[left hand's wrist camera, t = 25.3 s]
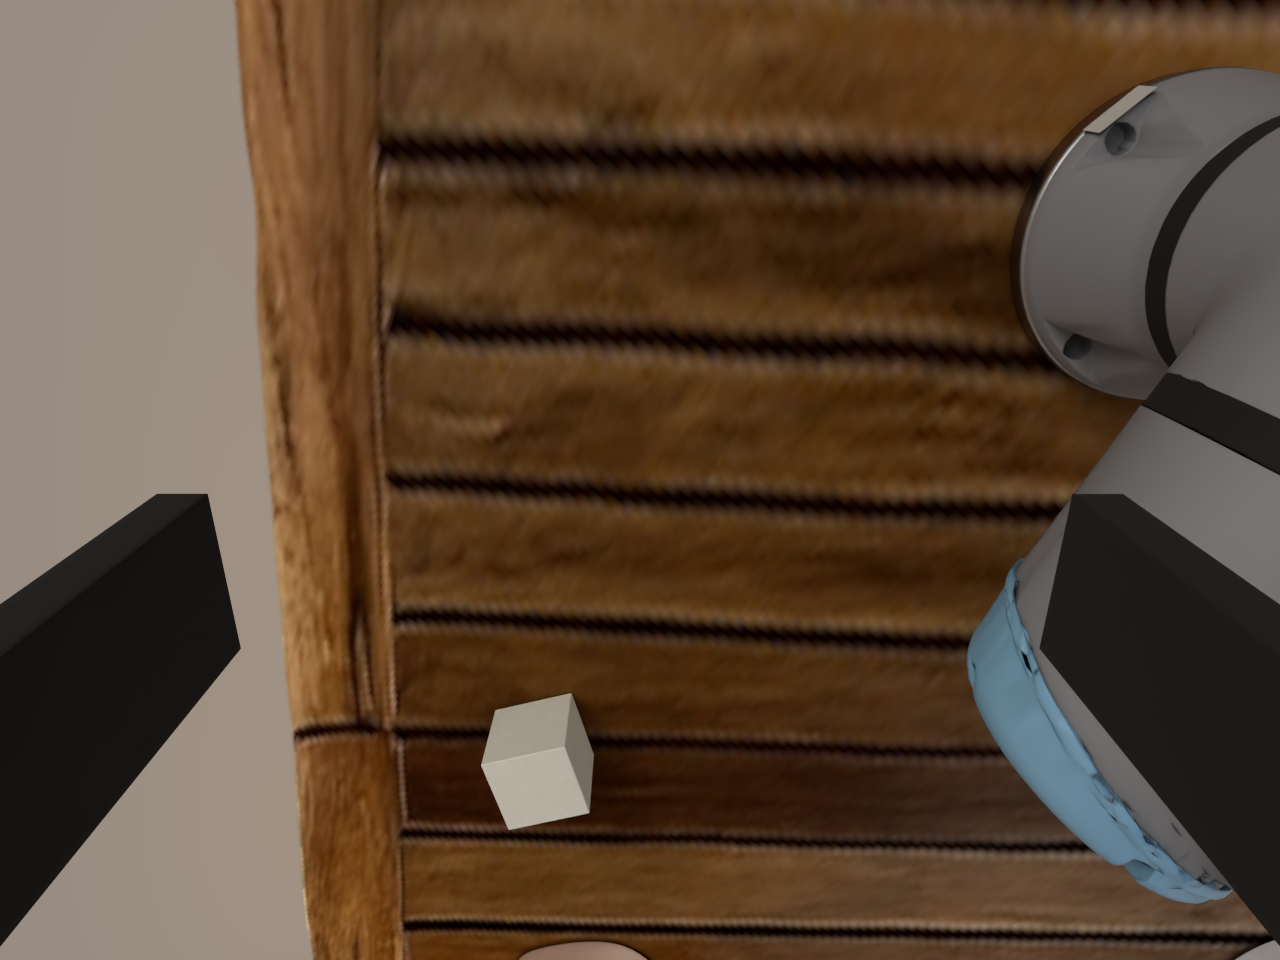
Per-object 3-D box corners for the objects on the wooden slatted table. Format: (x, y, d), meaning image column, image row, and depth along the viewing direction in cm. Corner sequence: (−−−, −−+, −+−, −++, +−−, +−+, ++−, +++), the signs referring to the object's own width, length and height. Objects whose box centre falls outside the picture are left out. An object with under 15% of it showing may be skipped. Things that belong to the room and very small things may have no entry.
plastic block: (571, 692, 50) (564, 747, 46) (594, 755, 52) (589, 813, 48) (495, 709, 51) (480, 765, 46) (520, 771, 53) (508, 830, 48)
